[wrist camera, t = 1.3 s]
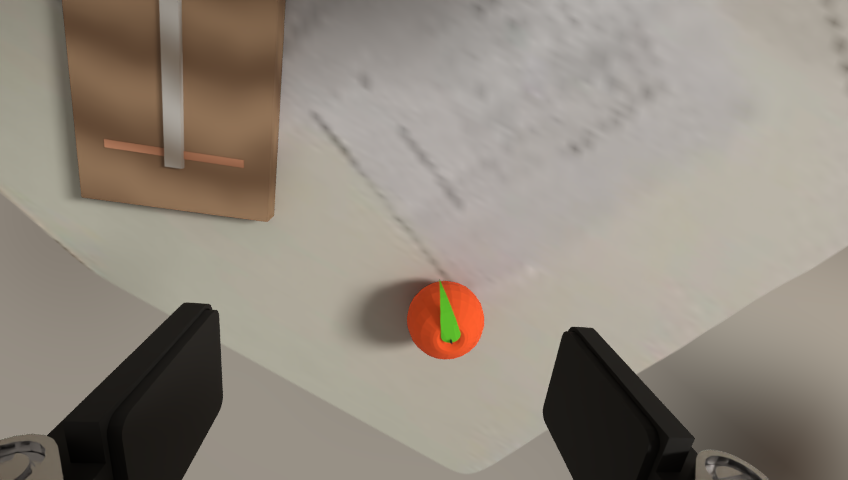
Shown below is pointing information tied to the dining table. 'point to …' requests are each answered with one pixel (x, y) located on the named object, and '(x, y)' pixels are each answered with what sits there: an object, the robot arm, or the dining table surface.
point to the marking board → (177, 102)
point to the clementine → (445, 320)
